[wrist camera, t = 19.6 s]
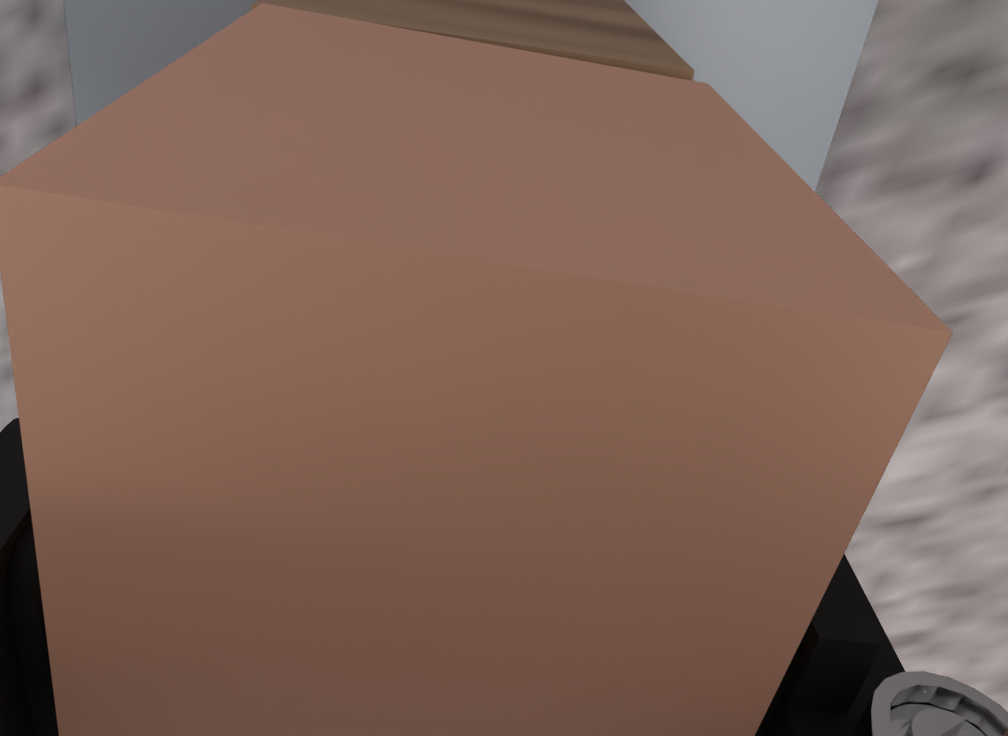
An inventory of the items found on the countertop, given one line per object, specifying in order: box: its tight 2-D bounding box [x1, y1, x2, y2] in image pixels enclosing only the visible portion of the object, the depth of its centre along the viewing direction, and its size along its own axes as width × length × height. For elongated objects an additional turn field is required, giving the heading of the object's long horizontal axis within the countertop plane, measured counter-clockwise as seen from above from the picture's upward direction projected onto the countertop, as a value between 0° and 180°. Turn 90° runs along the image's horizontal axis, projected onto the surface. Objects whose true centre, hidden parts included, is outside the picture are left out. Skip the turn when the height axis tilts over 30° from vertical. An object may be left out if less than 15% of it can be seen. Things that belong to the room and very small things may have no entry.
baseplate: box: [64, 0, 879, 192], centre depth 18 cm, size 14×14×1 cm
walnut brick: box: [251, 0, 695, 81], centre depth 15 cm, size 9×5×6 cm, turn 172°
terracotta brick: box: [0, 3, 953, 736], centre depth 9 cm, size 9×5×6 cm, turn 170°
